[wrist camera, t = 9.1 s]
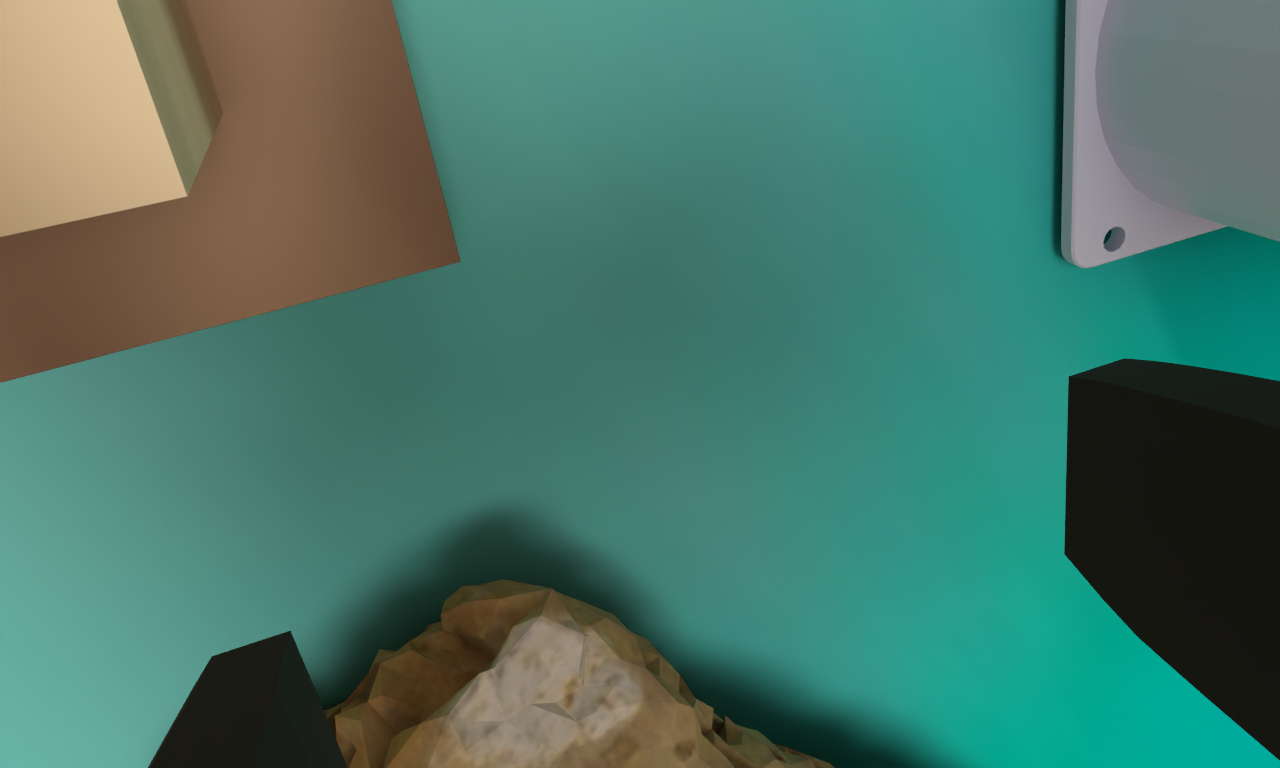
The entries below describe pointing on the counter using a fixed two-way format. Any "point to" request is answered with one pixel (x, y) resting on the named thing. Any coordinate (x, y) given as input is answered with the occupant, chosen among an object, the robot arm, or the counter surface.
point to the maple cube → (99, 108)
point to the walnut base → (248, 195)
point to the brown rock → (537, 695)
